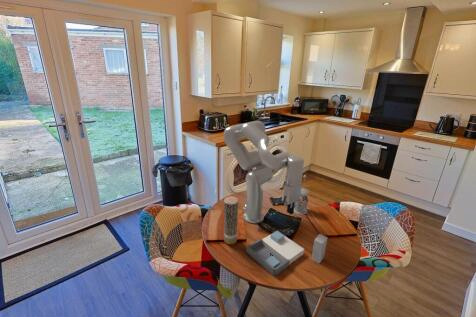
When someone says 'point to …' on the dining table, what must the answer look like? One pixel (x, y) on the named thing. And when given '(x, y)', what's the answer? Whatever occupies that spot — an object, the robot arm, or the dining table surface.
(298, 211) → the french press
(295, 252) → the board
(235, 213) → the paper tube
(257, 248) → the tray
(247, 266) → the dining table surface
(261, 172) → the robot arm
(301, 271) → the dining table surface
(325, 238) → the skincare box
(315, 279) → the dining table surface
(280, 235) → the tile
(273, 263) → the tile
